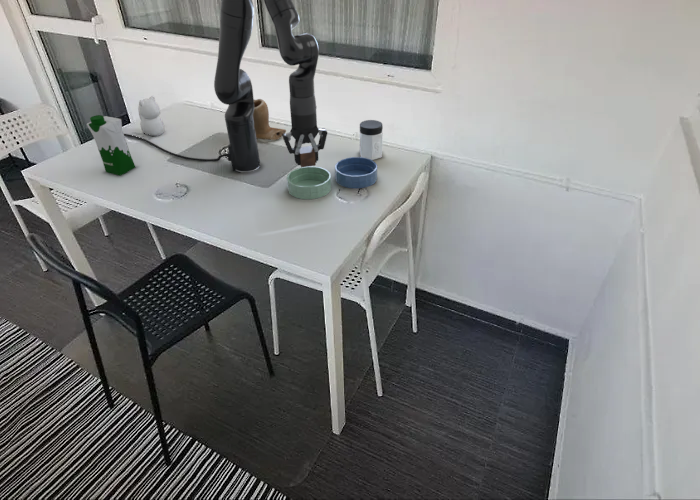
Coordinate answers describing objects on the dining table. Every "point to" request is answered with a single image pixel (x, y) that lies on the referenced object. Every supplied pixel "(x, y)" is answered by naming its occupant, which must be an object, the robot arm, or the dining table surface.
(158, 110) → the cat figurine
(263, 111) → the tan boot
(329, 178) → the celadon bowl
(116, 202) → the dining table surface
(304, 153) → the walnut block
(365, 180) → the blue bowl
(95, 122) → the milk carton
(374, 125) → the jar
